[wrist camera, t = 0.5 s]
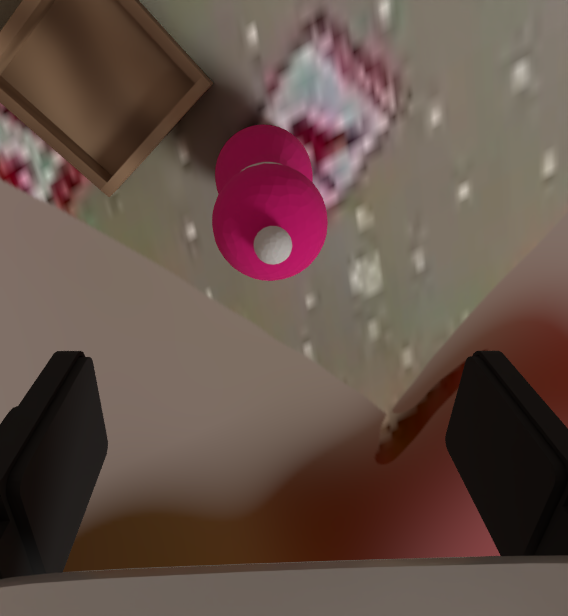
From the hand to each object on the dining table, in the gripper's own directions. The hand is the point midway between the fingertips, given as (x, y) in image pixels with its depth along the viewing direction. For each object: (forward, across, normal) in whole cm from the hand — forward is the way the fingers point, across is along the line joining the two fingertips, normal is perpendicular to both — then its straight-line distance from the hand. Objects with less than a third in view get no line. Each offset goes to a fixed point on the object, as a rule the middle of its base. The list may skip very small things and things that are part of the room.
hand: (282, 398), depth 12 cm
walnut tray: (+30, +12, -6) cm, 33 cm away
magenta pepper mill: (+30, 0, 0) cm, 30 cm away
